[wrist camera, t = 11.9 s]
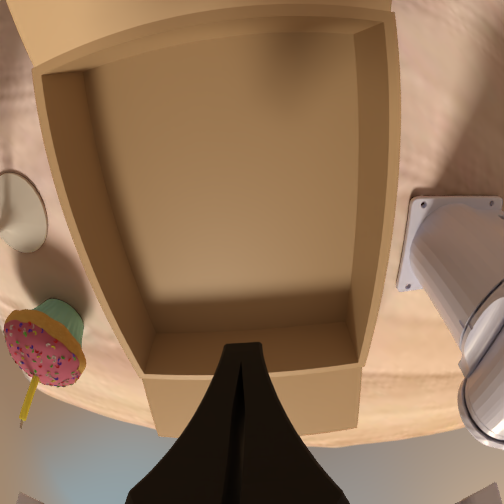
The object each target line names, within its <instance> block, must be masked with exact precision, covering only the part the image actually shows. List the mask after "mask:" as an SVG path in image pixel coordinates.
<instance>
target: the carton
mask: <svg viewBox="0 0 504 504" xmlns="http://www.w3.org/2000/svg"><path fill="white" fill-rule="evenodd" d="M32 77H33V85H34V92H35V99H36V105H37V111H38V116H39V122H40V127H41V132H42V136H43V141H44V145H45V150H46V154H47V158H48V162H49V166H50V170H51V173H52V177H53V181H54V184H55V187H56V191H57V194H58V197H59V201H60V204H61V207H62V210H63V213H64V216H65V219H66V222H67V225H68V228H69V230H70V233H71V236H72V239H73V241H74V244H75V247H76V249H77V252H78V254H79V257H80V259H81V262H82V264H83V267H84V269H85V272H86V274H87V276H88V279H89V281H90V283H91V285H92V288H93V290H94V292H95V294H96V297H97V299H98V301H99V303H100V305H101V307H102V309H103V311H104V313H105V315H106V317H107V319H108V321H109V323H110V325H111V327H112V329H113V331H114V333H115V335H116V337H117V339H118V341H119V343H120V345H121V346H122V348H123V350H124V352H125V354H126V355H127V357H128V359H129V361H130V362H131V364H132V366H133V368H134V369H135V371H136V373H137V374H138V376H139V378H146V379H170V380H212V378H213V376H214V373H215V371H216V368H217V366H218V363H219V360H220V357H221V354H222V351H223V347H224V345H226V344H230V343H248V342H260V343H262V347H263V355H264V360H265V363H266V367H267V370H268V373H269V376H270V377H282V376H293V375H304V374H313V373H322V372H330V371H337V370H344V369H351V368H358V367H364V366H365V363H366V360H367V356H368V352H369V349H370V345H371V341H372V337H373V333H374V329H375V325H376V320H377V316H378V311H379V307H380V302H381V297H382V292H383V287H384V282H385V277H386V271H387V265H388V259H389V253H390V247H391V240H392V233H393V225H394V217H395V208H396V198H397V187H398V175H399V159H400V135H401V89H400V65H399V51H398V39H397V29H396V20H395V12H389V11H383V10H376V9H369V8H361V7H352V6H340V5H325V4H268V5H252V6H241V7H231V8H223V9H216V10H209V11H203V12H197V13H191V14H186V15H181V16H176V17H172V18H167V19H163V20H159V21H155V22H151V23H147V24H143V25H140V26H136V27H133V28H130V29H126V30H123V31H120V32H117V33H114V34H111V35H108V36H105V37H102V38H100V39H97V40H94V41H92V42H89V43H87V44H84V45H82V46H79V47H77V48H74V49H72V50H70V51H67V52H65V53H63V54H61V55H59V56H56V57H54V58H52V59H50V60H48V61H46V62H44V63H42V64H40V65H38V66H36V67H34V68H32Z"/></svg>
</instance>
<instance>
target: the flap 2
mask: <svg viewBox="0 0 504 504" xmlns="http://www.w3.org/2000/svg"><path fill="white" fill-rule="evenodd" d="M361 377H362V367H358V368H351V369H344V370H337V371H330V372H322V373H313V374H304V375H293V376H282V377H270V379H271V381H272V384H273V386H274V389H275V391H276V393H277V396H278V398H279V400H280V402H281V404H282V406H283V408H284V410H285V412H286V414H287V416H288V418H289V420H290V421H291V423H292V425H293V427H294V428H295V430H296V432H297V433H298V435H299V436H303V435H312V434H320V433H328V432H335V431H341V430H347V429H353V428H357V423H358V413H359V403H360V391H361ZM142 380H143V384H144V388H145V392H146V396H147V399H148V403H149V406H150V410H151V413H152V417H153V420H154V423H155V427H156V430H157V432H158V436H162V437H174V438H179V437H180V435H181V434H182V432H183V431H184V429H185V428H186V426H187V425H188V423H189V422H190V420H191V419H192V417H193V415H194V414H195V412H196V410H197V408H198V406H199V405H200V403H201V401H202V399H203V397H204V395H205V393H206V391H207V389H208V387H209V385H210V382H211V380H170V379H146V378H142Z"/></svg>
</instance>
